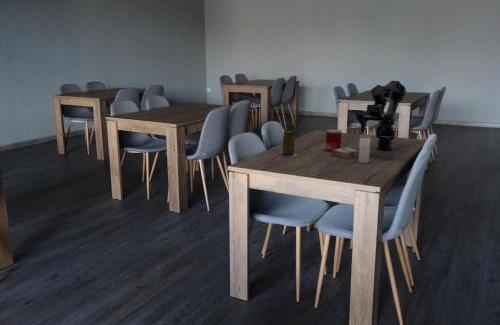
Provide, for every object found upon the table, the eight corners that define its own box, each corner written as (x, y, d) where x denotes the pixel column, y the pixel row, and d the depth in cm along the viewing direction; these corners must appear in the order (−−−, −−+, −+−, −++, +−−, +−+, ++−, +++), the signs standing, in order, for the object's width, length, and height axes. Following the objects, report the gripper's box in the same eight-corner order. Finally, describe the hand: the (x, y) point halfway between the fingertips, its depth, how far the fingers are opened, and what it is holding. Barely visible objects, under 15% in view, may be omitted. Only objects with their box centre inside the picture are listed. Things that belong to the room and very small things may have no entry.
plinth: (345, 153, 243) (345, 147, 242) (359, 156, 235) (360, 150, 234) (331, 155, 237) (332, 149, 237) (346, 159, 230) (346, 153, 229)
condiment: (291, 152, 244) (292, 130, 241) (298, 155, 236) (299, 132, 233) (279, 153, 242) (279, 130, 239) (285, 156, 234) (286, 133, 231)
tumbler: (364, 159, 229) (366, 134, 226) (371, 162, 224) (373, 136, 221) (355, 160, 227) (357, 135, 223) (362, 163, 222) (364, 136, 219)
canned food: (340, 152, 245) (341, 132, 242) (325, 151, 247) (326, 131, 244) (340, 149, 252) (341, 129, 250) (325, 148, 254) (326, 129, 251)
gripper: (356, 98, 235) (347, 123, 229) (392, 97, 223) (383, 124, 218) (363, 110, 243) (355, 135, 237) (398, 111, 231) (390, 137, 226)
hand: (370, 133), depth 229 cm, fingers open, 9 cm apart
